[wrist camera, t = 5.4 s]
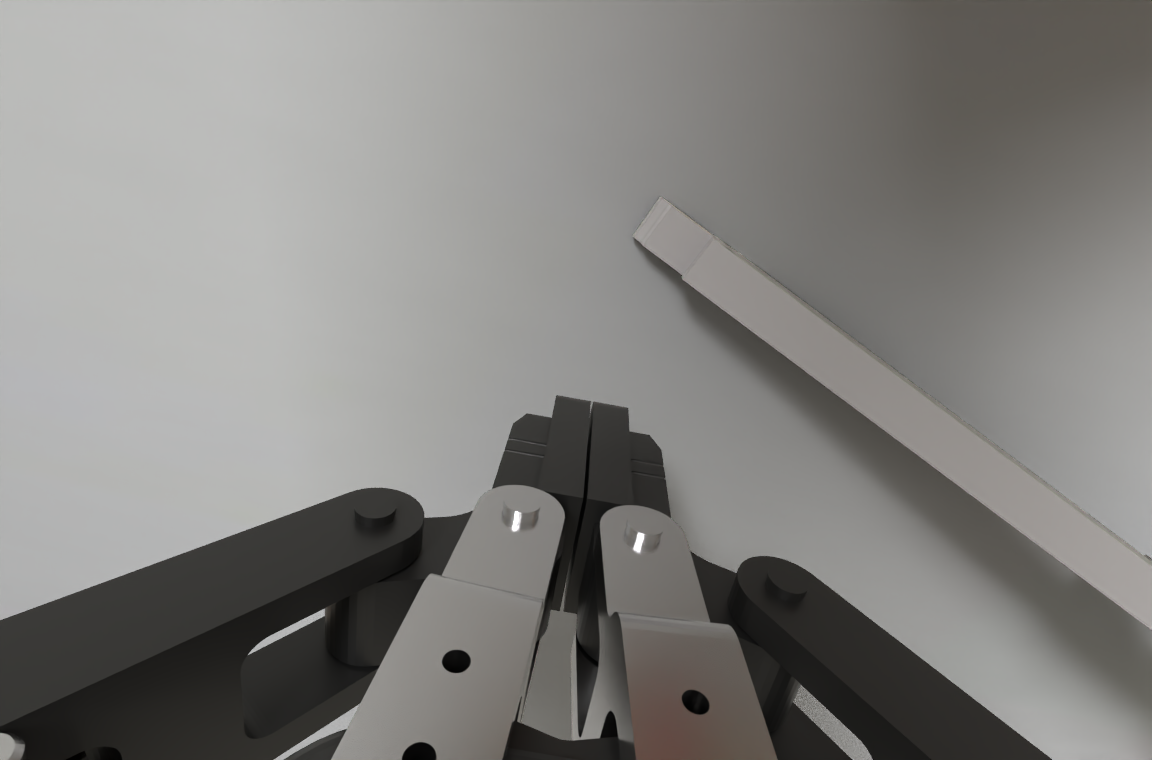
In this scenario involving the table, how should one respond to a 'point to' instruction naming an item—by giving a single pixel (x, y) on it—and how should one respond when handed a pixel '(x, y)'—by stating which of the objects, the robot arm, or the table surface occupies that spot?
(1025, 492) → the caliper
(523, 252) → the table surface
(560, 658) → the table surface
